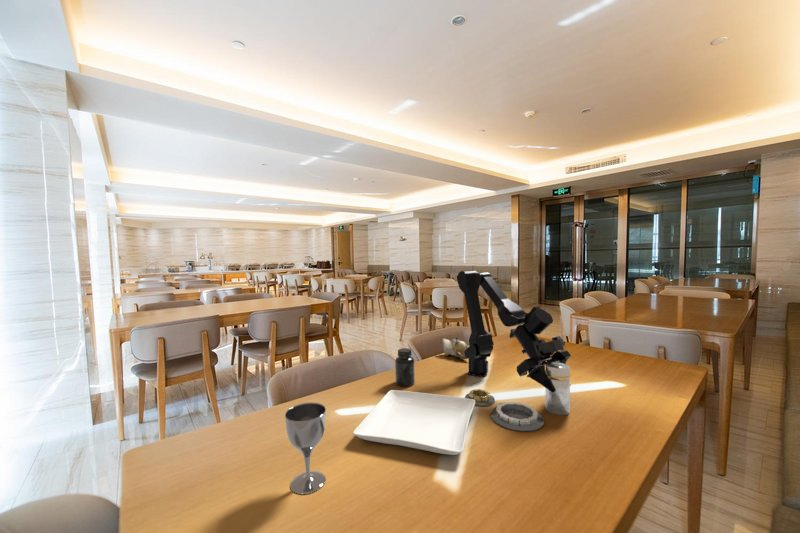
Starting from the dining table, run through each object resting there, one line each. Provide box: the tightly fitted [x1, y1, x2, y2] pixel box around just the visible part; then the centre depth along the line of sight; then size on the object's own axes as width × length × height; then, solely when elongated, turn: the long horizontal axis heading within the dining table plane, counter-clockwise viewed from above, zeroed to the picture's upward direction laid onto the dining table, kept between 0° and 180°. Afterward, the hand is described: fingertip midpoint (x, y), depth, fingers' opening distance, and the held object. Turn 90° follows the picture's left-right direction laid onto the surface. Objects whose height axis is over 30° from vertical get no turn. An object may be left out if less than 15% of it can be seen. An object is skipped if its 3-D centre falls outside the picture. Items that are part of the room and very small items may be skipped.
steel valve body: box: [545, 362, 572, 416], centre depth 97 cm, size 7×7×13 cm
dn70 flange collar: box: [490, 401, 545, 433], centre depth 93 cm, size 14×14×2 cm
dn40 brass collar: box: [464, 388, 495, 407], centre depth 105 cm, size 9×9×2 cm
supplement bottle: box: [394, 347, 416, 388], centre depth 119 cm, size 7×7×12 cm
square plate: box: [352, 389, 476, 456], centre depth 90 cm, size 27×27×4 cm
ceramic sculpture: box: [442, 337, 469, 360], centre depth 147 cm, size 11×9×15 cm
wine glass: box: [284, 402, 327, 495], centre depth 69 cm, size 8×8×15 cm
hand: (561, 389), depth 96 cm, fingers closed on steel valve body, 6 cm apart
